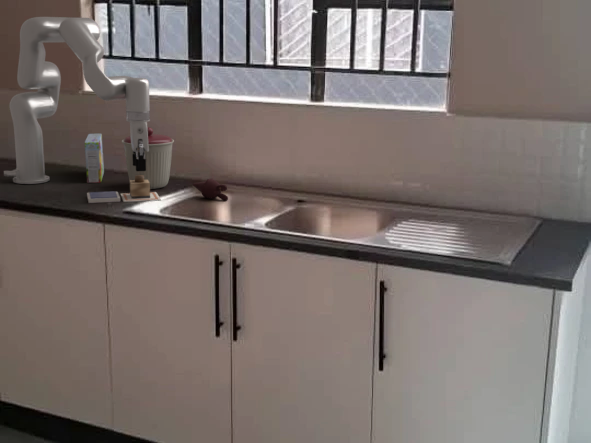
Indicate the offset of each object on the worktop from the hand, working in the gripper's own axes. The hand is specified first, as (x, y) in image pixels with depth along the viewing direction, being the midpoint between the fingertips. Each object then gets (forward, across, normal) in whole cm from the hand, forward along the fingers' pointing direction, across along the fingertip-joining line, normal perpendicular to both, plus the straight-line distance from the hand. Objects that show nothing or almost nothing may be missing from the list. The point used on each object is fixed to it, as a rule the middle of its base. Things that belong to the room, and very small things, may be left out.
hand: (139, 168), depth 273 cm
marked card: (+10, 0, 0) cm, 10 cm away
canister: (+10, +17, -5) cm, 20 cm away
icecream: (+10, -6, -22) cm, 25 cm away
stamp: (+10, 0, 0) cm, 10 cm away
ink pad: (+10, 0, +12) cm, 15 cm away
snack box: (+10, +38, +12) cm, 41 cm away
